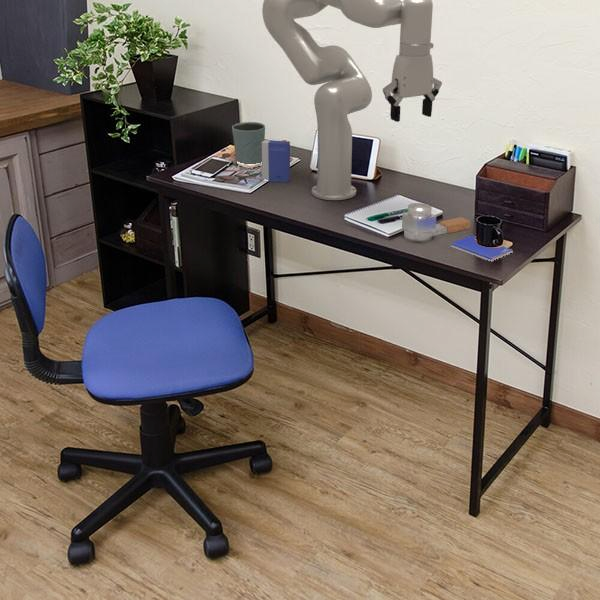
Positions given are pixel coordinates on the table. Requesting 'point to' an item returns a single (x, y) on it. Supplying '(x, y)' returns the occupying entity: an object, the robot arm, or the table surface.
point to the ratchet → (440, 229)
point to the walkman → (276, 160)
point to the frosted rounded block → (419, 219)
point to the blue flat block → (480, 249)
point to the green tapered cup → (248, 142)
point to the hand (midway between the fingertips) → (411, 118)
